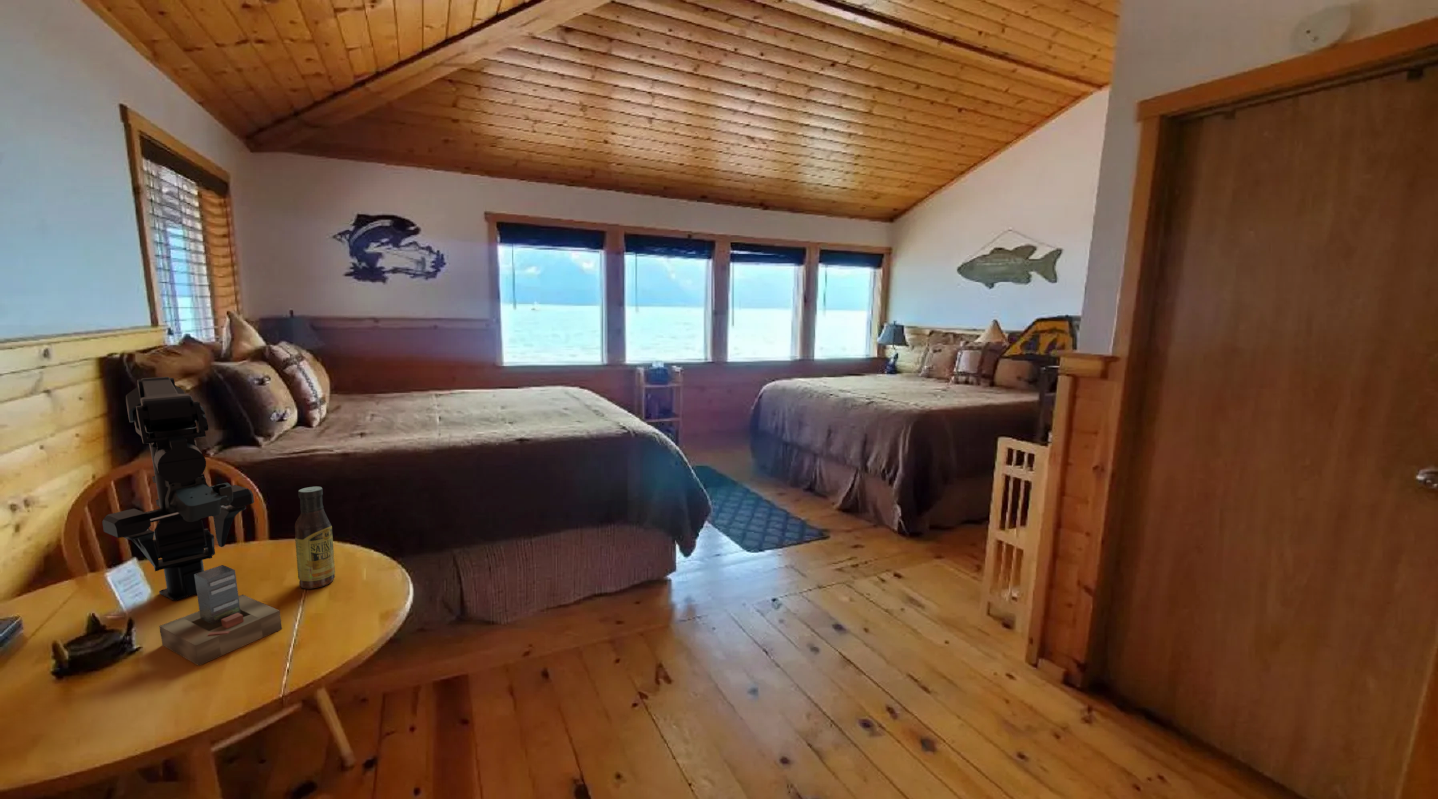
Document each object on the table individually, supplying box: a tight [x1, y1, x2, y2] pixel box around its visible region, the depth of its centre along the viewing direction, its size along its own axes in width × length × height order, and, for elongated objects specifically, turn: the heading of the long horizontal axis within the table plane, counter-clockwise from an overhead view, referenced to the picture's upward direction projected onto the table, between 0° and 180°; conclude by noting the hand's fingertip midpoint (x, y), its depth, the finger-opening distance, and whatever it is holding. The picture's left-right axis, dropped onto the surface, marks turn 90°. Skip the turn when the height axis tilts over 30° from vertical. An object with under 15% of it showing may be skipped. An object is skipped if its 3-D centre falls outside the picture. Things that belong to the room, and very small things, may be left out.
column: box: [194, 564, 241, 624], centre depth 101 cm, size 5×4×8 cm
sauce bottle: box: [294, 486, 336, 590], centre depth 120 cm, size 7×6×20 cm
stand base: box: [159, 594, 283, 666], centre depth 101 cm, size 13×12×5 cm
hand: (190, 556), depth 103 cm, fingers open, 9 cm apart
